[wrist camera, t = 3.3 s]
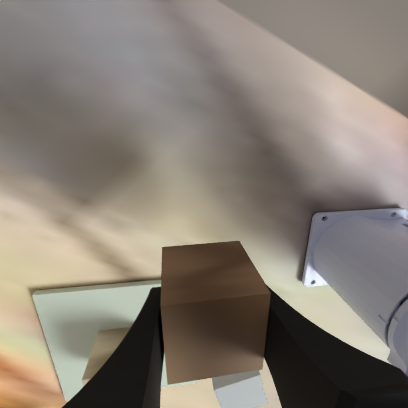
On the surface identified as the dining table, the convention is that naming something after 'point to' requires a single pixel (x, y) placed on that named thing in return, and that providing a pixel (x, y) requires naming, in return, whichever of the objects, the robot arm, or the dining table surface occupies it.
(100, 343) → the maple block
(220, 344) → the walnut block
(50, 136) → the dining table surface
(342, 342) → the robot arm
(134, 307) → the station board
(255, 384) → the grey block
